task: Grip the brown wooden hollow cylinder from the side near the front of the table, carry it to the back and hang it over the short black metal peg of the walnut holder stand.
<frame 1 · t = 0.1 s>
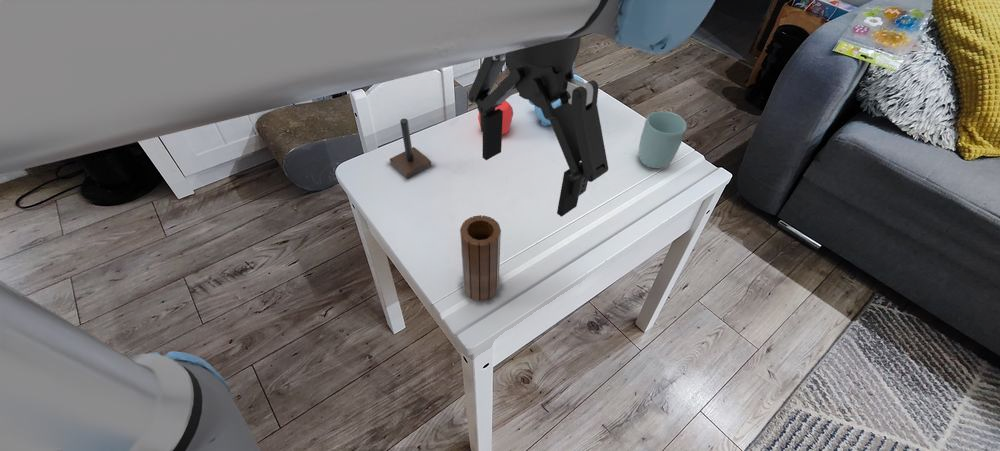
hand: (527, 181, 58), 23 cm above the table, tool pointing down, fingers open, 13 cm apart
apple: (495, 130, 103), on the table
cup: (652, 162, 97), on the table
teapot: (560, 117, 107), on the table
peg stand: (411, 165, 94), on the table
brown wooden hollow cylinder: (481, 286, 74), on the table
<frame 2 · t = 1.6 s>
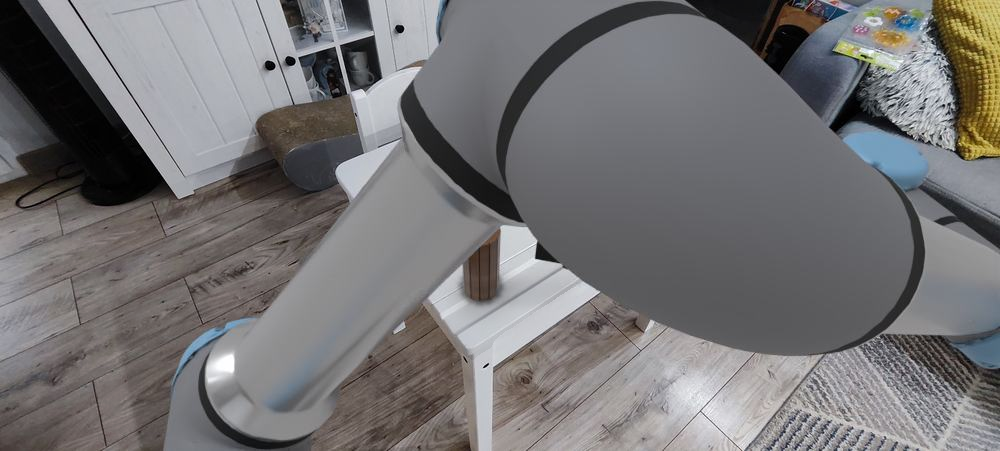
hand: (544, 209, 58), 20 cm above the table, tool horizontal, fingers open, 13 cm apart
nothing on the table moved.
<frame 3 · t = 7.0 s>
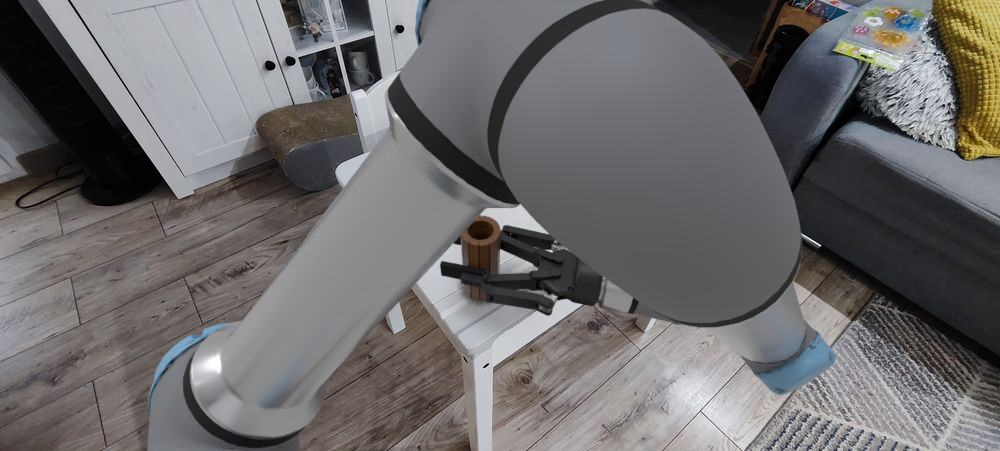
hand: (448, 252, 69), 8 cm above the table, tool horizontal, fingers closed on brown wooden hollow cylinder, 6 cm apart
brown wooden hollow cylinder: (481, 286, 74), on the table, touching gripper
everything else where it was.
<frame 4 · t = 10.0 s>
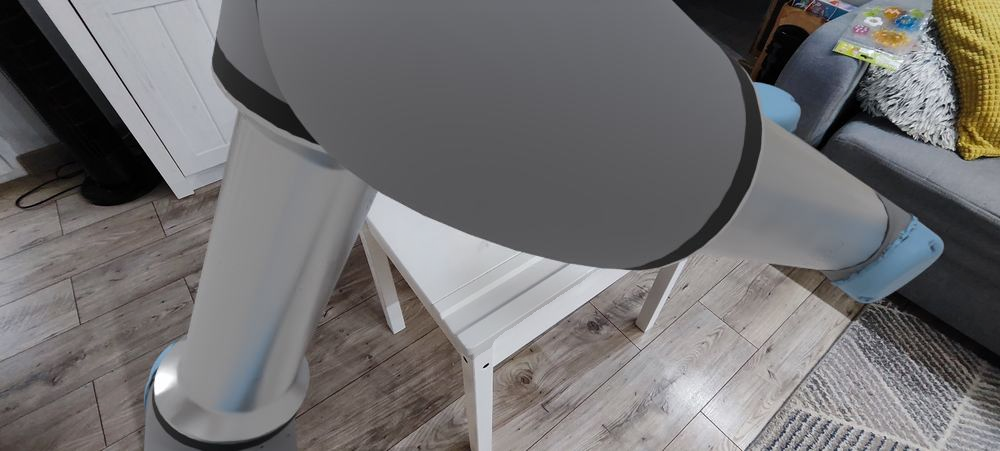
hand: (437, 166, 58), 23 cm above the table, tool horizontal, fingers closed on brown wooden hollow cylinder, 6 cm apart
brown wooden hollow cylinder: (476, 214, 63), point 16 cm above the table, touching gripper
everything else where it was.
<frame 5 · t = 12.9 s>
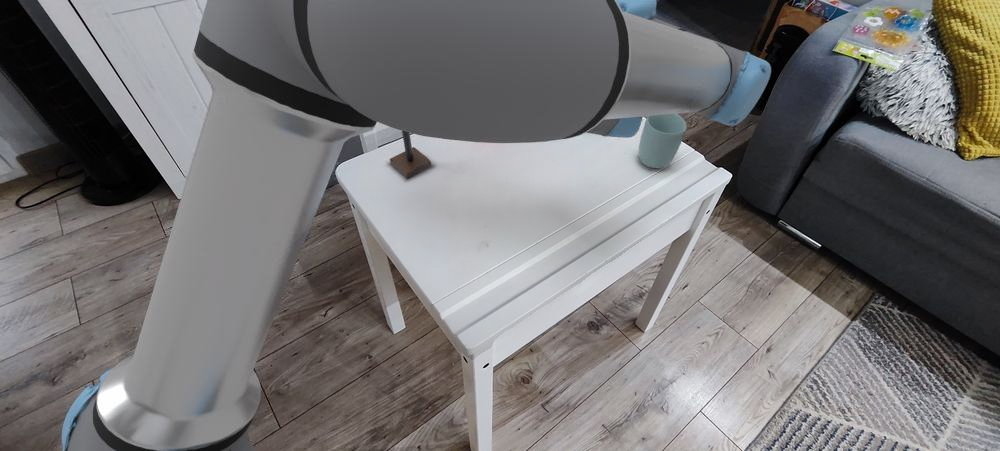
hand: (385, 75, 70), 25 cm above the table, tool horizontal, fingers closed on brown wooden hollow cylinder, 6 cm apart
brown wooden hollow cylinder: (422, 122, 75), point 18 cm above the table, touching gripper
everything else where it was.
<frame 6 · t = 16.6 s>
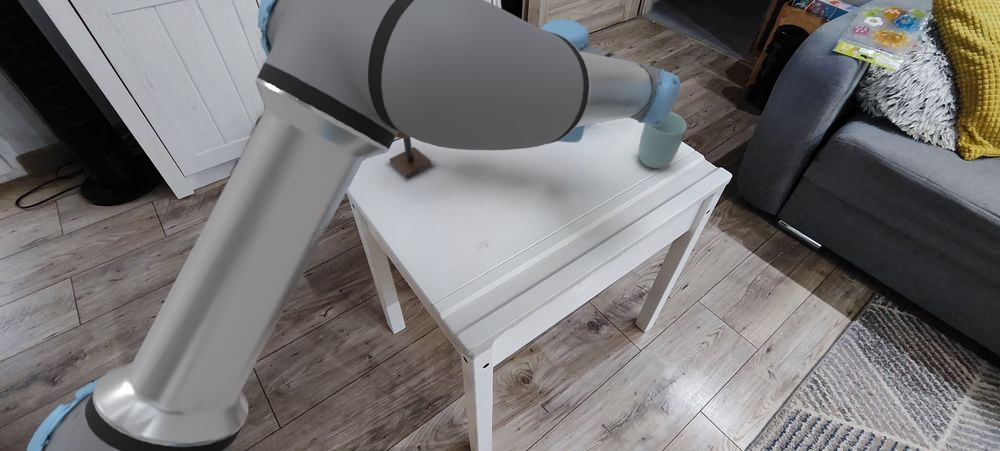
hand: (373, 91, 83), 16 cm above the table, tool horizontal, fingers closed on brown wooden hollow cylinder, 6 cm apart
brown wooden hollow cylinder: (405, 129, 88), point 9 cm above the table, touching gripper
everything else where it was.
when the fingers open (9 cm above the table, at t = 19.1 s): brown wooden hollow cylinder stays where it is, resting on peg stand.
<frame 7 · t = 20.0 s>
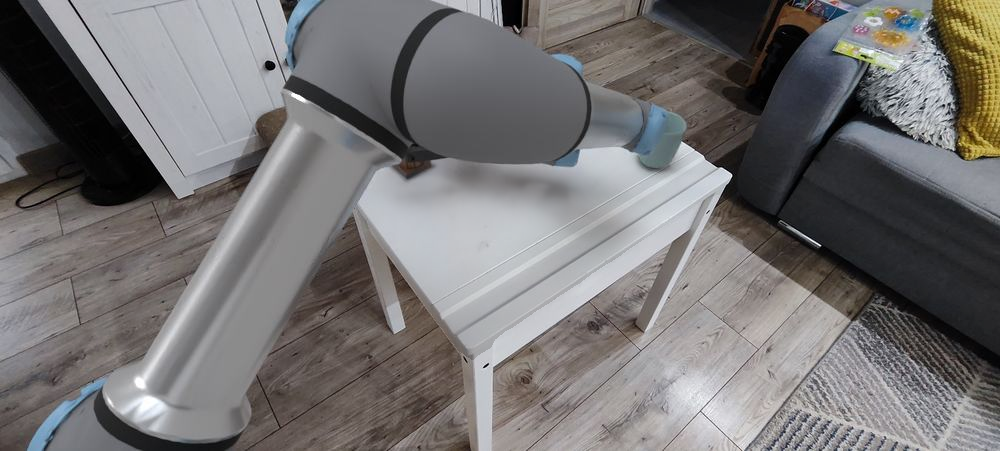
hand: (387, 117, 86), 11 cm above the table, tool horizontal, fingers open, 13 cm apart
brown wooden hollow cylinder: (410, 159, 93), point 1 cm above the table, touching peg stand
everything else where it was.
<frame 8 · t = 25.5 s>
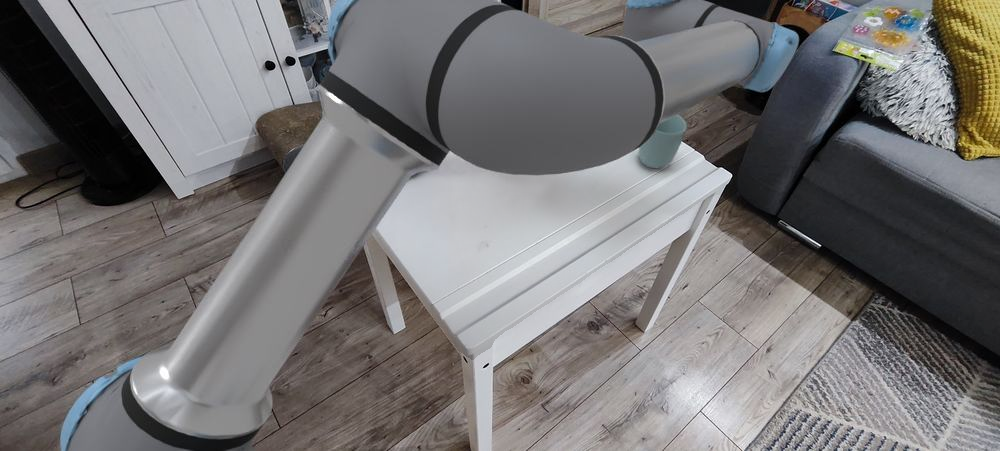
hand: (442, 56, 75), 25 cm above the table, tool horizontal, fingers open, 13 cm apart
nothing on the table moved.
at the end: brown wooden hollow cylinder 0.0 cm off-centre on the peg stand, point 1.5 cm above the peg stand's base; brown wooden hollow cylinder tilted 0°; the gripper is holding nothing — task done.
